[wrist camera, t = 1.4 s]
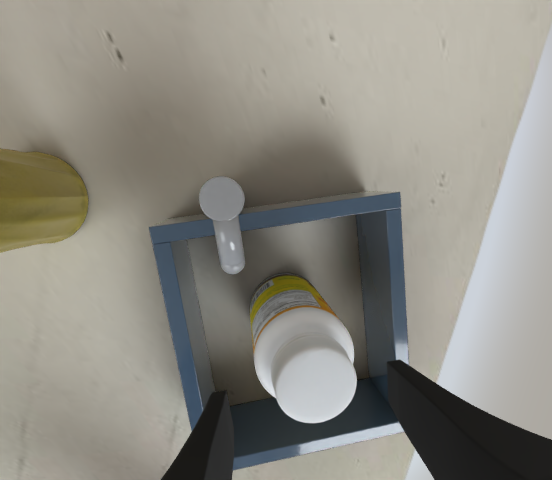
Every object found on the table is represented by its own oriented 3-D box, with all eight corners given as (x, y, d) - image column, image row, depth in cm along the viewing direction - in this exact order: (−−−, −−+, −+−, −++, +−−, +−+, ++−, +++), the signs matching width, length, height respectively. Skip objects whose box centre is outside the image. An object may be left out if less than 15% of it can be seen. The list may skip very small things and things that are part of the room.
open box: (380, 385, 26) (452, 484, 17) (208, 421, 25) (192, 549, 16) (364, 163, 23) (443, 147, 14) (162, 189, 21) (110, 189, 13)
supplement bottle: (317, 334, 25) (371, 434, 15) (249, 339, 24) (257, 446, 14) (318, 269, 24) (377, 327, 14) (248, 271, 23) (256, 335, 13)
